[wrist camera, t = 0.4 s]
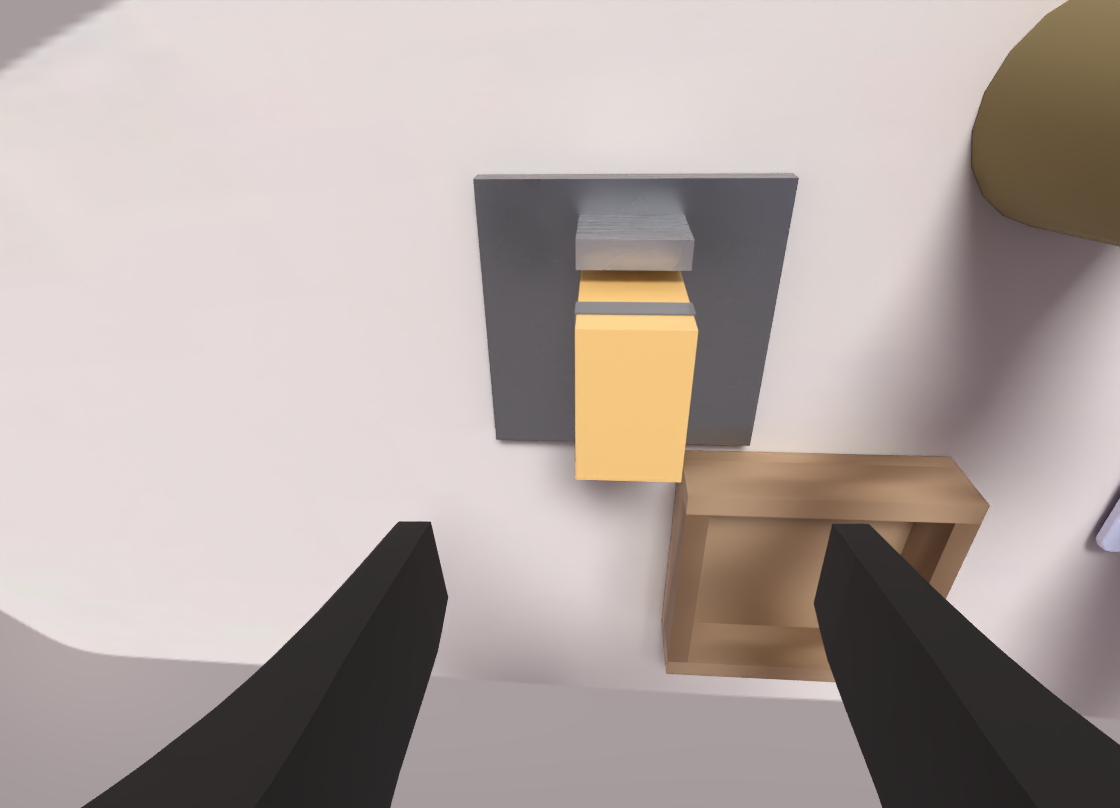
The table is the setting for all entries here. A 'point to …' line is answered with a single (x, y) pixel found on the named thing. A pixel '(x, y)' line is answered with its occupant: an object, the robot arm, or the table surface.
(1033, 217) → the cork
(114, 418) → the table surface
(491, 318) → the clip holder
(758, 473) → the tray
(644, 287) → the block
